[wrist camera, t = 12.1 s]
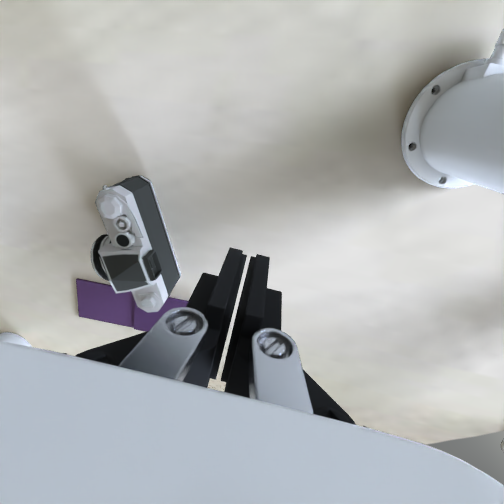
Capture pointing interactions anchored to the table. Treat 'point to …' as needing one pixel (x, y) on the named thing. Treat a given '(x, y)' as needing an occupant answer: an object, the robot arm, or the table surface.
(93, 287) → the purple flat rectangular piece
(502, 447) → the travel mug
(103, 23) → the table surface
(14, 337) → the gray bottle
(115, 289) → the camera
